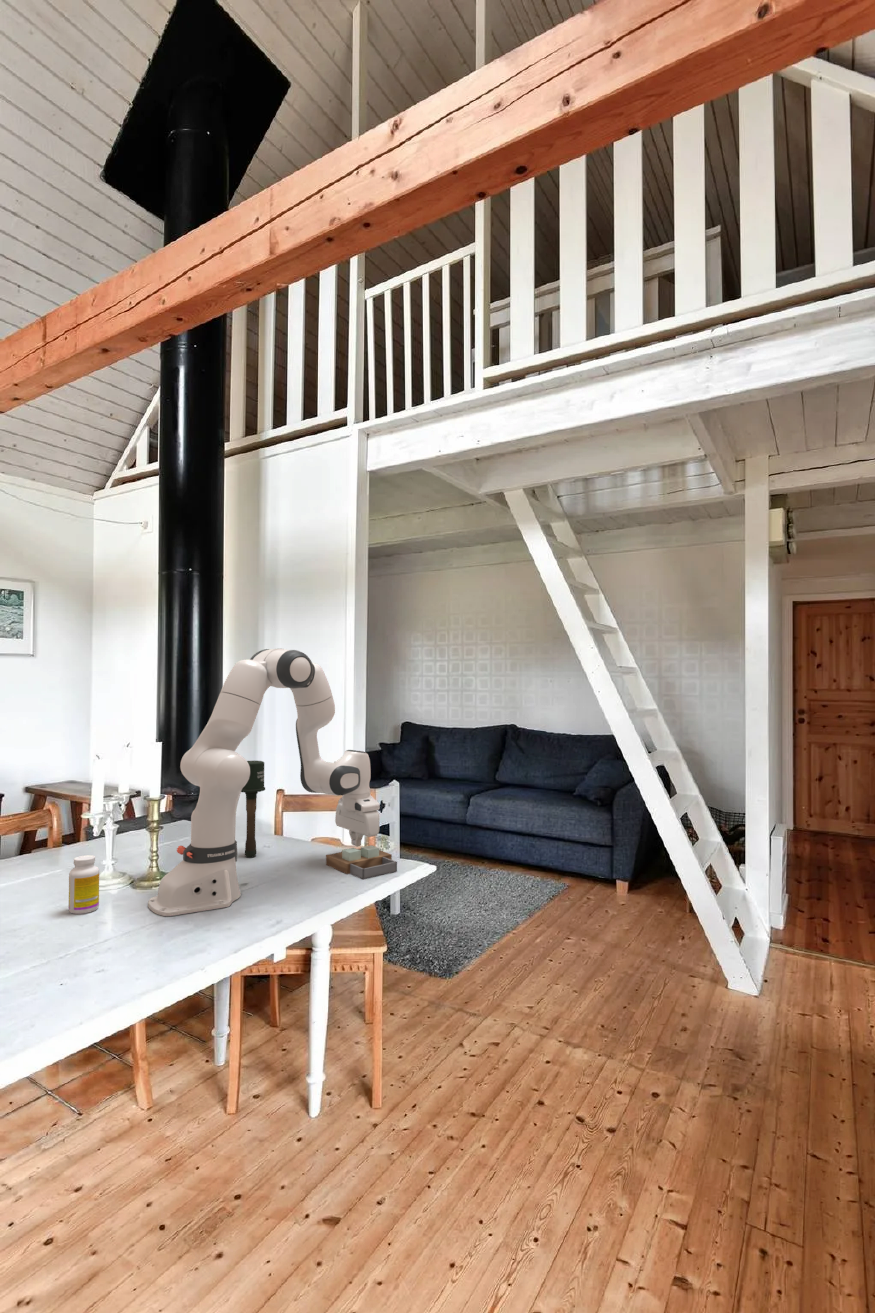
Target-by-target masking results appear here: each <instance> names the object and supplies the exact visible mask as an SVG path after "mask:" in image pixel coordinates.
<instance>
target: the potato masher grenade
mask: <svg viewBox="0 0 875 1313" xmlns="http://www.w3.org/2000/svg"><path fill="white" fill-rule="evenodd" d="M246 761H247V762H248V764H249V766H250V777H249V780H248V782H247V783H246V785H245V786H244V787H243V788H242V790H241V793H245V811H246V839H245V844H244V846H245V848H244V856H245V858H247V859H248V858H255V857H256V855H257V852H258V851H257V840H256V813H257V812H256V811H257V799H258V797H257V796H258V793H259V792H264V791H265V790H266V787H265V762H264V761H262V760H246Z"/></svg>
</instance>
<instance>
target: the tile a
mask: <svg viewBox="0 0 875 1313" xmlns="http://www.w3.org/2000/svg"><path fill="white" fill-rule="evenodd" d="M358 849H359V848H355V847H350V848H345V849H342V850H341V852H342V858H343V859H345V860H348V861H353V860H358V859H361V850H358Z"/></svg>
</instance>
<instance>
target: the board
mask: <svg viewBox="0 0 875 1313" xmlns="http://www.w3.org/2000/svg"><path fill="white" fill-rule="evenodd" d="M357 849H358V850H361V847H360V848H357ZM382 857H385V858H388V859H391V860H393V859H392V854H391V853H390V852H389V853H388V852H386V851H384V850H380V849H379V856H377V857H372V858H366V857H363V856H361V859H358V860H353V861H348V860H345V859H343V858H342V851H341V852H336V853H335V852H334V853H328V854H326V855H325V865H326V866H327V867H330V868H332V869H334V870H337V871H339V872H340V873H343V874H345V875H351V874H350V864H353V865H356V866H358V867H361V868H363V869H365V868H369V867H374V866H378V865H382Z"/></svg>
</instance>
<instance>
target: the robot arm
mask: <svg viewBox="0 0 875 1313" xmlns="http://www.w3.org/2000/svg"><path fill="white" fill-rule="evenodd" d="M269 687H272V688H276V689H289V690H290V691H291V693H292V695H293V700H294V704H295V707H296V714H297V718H296V721H295V733H296V741H297V748H298V755H299V760H300V772H299V773H300V774H299V775H300V778H299V779H300V782H301V785H302V787H303V788H304V790H306V791H307V792H309V793H312V794H313V793H315V794H324V795H331V796H336V797H337V796H341V797H340V798H339V800H338V802H337V805H336V808H335V818H334V819H335V820H334V822H335V824H336V827H338V828H339V827H340V828H342V829H345V830H347V831H349V832H348V833H349V837H350V839H351V842H350V843H351V846H354V847H362V840H363V837H364V836H365V837H367V838H372V837H376V836H378V835H379V833H380V813H379V810H380V808H381V805H380V802H378V801H377V799H375V798H374V797H373V796H372V795H371V788H370V781H371V774H372V773H371V770H372V769H371V759H370V757H369V753H367V752H366V751H363V750H354V749H346V750H345V751H344V753H343V755H342V756H341V757H340V758H339V759H337V760H336V761H334V762H329V761H325V760H324V759H322V756H320V750H319V749H320V748H319V740H318V731H319V730H320V729H322V728H324V727H325V726H327V725H328V724H330V722H331V721H332V720H333V718H334V716H335V715H336V714H335V713H336V706H335V700H334V697H333V692H332V690H331V686H330V683H329V680H328V678H327V676H326V674H325V671H324V670H323V667H321V665H319V664H318V663H316V662H312V659H310V657H309V656H308V655H307V654H305V652H302V651H300V650H297V649H287V648H286V649H285V648H271V649H270V648H268V649H267V648H266V649H261V650H259V651H257V652H255V653H254V654H253V655H252V656H251V657H250V658H249V659H240V660H238V661H237V662H236V663H234V665H233V667H232V668H231V670H230V672H229V673H228V675H227V677H226V678H225V681H224V683H223V685H222V688H221V689H220V692H219V694H218V697H217V700H216V702H215V704H214V707H213V710H212V711H211V712H212V713H211V715H210V717H209V719H208V721H207V724H206V725H205V726H204V728H203V730H202V731H201V733H200V734H199V736H198V737H197V739H196V740H195V742H194V744H192V747H191V748H190V749H189V750H187V751H186V752H185V753H184V754H183V756H182V758H181V760H180V766H179V768H180V771H181V775H183V777H184V778H185V779H186V780H187V781H188V782H189V783H190V784H192V785H194V786H196V787H199V795H198V800H197V803H196V805H195V808H194V810H193V811H192V812H191V816H190V822H191V823H190V843H189V845H188V846H187V847H185V846H184V845H179V846H178V847H177V848H176V853H178V854H179V855H182V860H181V861H180V862H179V863H178V864H177V865H176V866H175V867H173V868H172V869H171V870H170V871H169V872H168V873H166V874H165V875H163V877H162V878H161V880H160V882H159V886H158V890H157V895H155V896H152V897H150V898H149V899H148V903H147V906H148V909H149V910H150V911H151V912H153V913H155V914H156V915H159V916H164V917H172V916H179V915H185V914H192V913H196V912H202V911H203V912H205V911H210V910H215V909H222V908H228V907H230V906H231V905H232V904H233V902H235V901H236V900H238V899H239V898H241V896H242V893H241V889H240V885H239V880H238V874H237V873H238V872H237V865H236V864H237V861H238V860H237V859H238V841H237V840H236V822H237V821H236V820H237V819H236V818H237V808H238V804H239V800H240V796H241V794H242V792H241V790H242V788H243V787H244V786H245V785H246V783H247V782H248V780H249V777H250V766H249V764H248V762H247V761H248V760H247V759H246V758H245V757H243V756H242V755H241V754H240V753H238V752H236V750H237V748H239V745H240V744H241V743H242V742H243V741H244V739H245V738H246V737H247V736H249V735H250V733H251V732H252V729H253V726H254V724H255V721H256V717H257V715H258V713H259V710H260V707H261V705H262V701H263V699H264V695H265V693H266V692H267V690H268V689H269Z"/></svg>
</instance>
